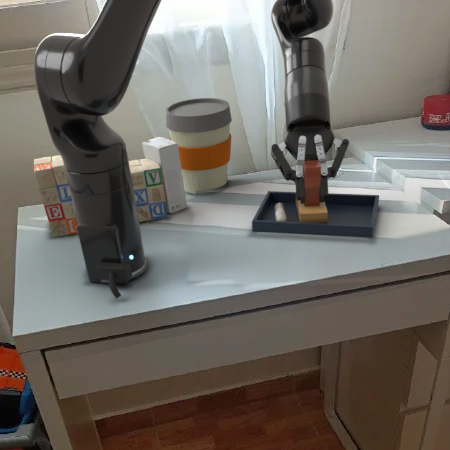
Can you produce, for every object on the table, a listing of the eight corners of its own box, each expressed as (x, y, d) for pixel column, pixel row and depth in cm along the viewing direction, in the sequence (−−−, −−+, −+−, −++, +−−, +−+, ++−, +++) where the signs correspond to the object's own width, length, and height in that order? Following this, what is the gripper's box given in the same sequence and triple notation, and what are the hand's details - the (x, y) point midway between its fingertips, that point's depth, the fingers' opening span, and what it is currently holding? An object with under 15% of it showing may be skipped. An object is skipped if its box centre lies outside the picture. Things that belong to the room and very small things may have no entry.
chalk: (277, 228, 105) (287, 225, 104) (275, 218, 103) (285, 216, 103) (275, 211, 110) (284, 209, 109) (273, 202, 109) (283, 200, 108)
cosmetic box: (188, 207, 115) (180, 142, 108) (168, 215, 114) (159, 148, 106) (170, 198, 119) (161, 134, 111) (151, 205, 117) (141, 141, 110)
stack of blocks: (162, 205, 117) (153, 139, 109) (168, 218, 112) (158, 150, 104) (51, 224, 114) (33, 157, 106) (52, 238, 109) (32, 169, 101)
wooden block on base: (327, 228, 103) (329, 172, 97) (299, 229, 103) (300, 174, 97) (321, 206, 110) (322, 153, 104) (295, 208, 110) (295, 155, 104)
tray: (371, 242, 100) (373, 227, 98) (252, 235, 105) (251, 221, 103) (378, 209, 109) (379, 195, 108) (268, 204, 114) (268, 190, 112)
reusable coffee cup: (241, 175, 126) (237, 97, 117) (227, 198, 117) (221, 116, 108) (184, 173, 129) (176, 97, 120) (166, 197, 120) (155, 116, 111)
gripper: (266, 94, 100) (271, 194, 99) (351, 87, 100) (357, 189, 98) (265, 118, 108) (270, 212, 107) (344, 112, 107) (350, 207, 106)
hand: (312, 200), depth 102 cm, fingers closed on wooden block on base, 2 cm apart
